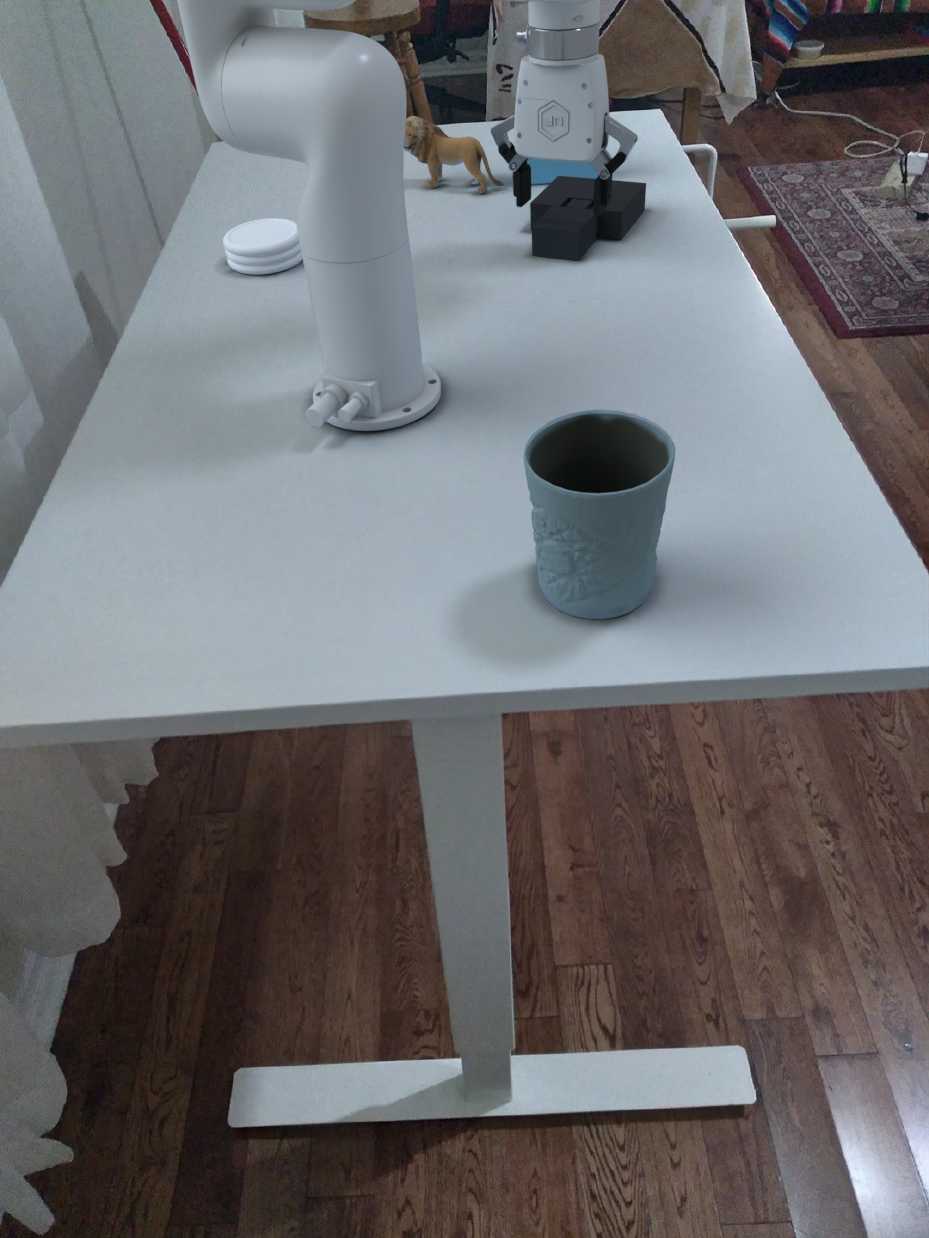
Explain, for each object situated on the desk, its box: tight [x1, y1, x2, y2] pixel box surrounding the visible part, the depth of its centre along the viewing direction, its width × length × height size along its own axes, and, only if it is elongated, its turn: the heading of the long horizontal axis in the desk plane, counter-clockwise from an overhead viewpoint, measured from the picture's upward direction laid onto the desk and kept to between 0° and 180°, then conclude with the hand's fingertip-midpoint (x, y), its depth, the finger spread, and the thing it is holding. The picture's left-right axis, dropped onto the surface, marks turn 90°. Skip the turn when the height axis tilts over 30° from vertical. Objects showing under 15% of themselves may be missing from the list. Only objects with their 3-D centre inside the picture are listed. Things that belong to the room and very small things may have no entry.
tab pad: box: [531, 199, 598, 261], centre depth 119 cm, size 10×6×4 cm, turn 155°
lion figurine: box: [404, 115, 504, 195], centre depth 134 cm, size 15×5×9 cm, turn 70°
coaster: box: [222, 217, 303, 276], centre depth 121 cm, size 10×10×4 cm
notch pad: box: [529, 176, 647, 241], centre depth 123 cm, size 10×12×4 cm
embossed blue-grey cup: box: [523, 409, 676, 620], centre depth 69 cm, size 10×10×12 cm
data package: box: [515, 90, 598, 185], centre depth 133 cm, size 12×4×12 cm, turn 89°
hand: (561, 207), depth 115 cm, fingers open, 9 cm apart
